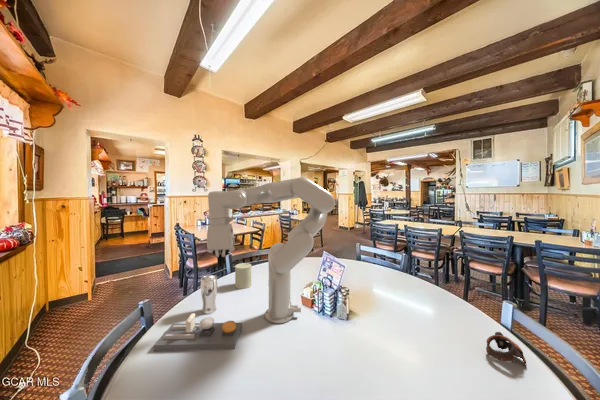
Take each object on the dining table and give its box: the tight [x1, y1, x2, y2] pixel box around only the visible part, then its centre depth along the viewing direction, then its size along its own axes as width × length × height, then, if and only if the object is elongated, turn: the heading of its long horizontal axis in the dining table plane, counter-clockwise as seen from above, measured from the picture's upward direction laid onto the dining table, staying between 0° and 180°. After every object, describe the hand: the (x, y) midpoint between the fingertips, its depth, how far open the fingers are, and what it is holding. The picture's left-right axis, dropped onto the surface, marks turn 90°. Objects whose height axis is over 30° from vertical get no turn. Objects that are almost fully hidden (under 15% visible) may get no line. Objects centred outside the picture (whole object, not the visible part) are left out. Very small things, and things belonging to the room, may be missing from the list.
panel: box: [153, 322, 243, 352], centre depth 82 cm, size 27×12×3 cm, turn 93°
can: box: [234, 262, 253, 290], centre depth 127 cm, size 9×9×12 cm
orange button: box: [222, 320, 237, 333], centre depth 82 cm, size 5×5×3 cm
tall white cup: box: [200, 274, 218, 315], centre depth 100 cm, size 7×7×15 cm
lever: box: [185, 312, 197, 334], centre depth 81 cm, size 3×5×6 cm, turn 3°
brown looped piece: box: [485, 331, 527, 365], centre depth 74 cm, size 12×10×8 cm
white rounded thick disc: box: [199, 316, 215, 330], centre depth 82 cm, size 5×5×3 cm
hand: (222, 265), depth 91 cm, fingers closed
